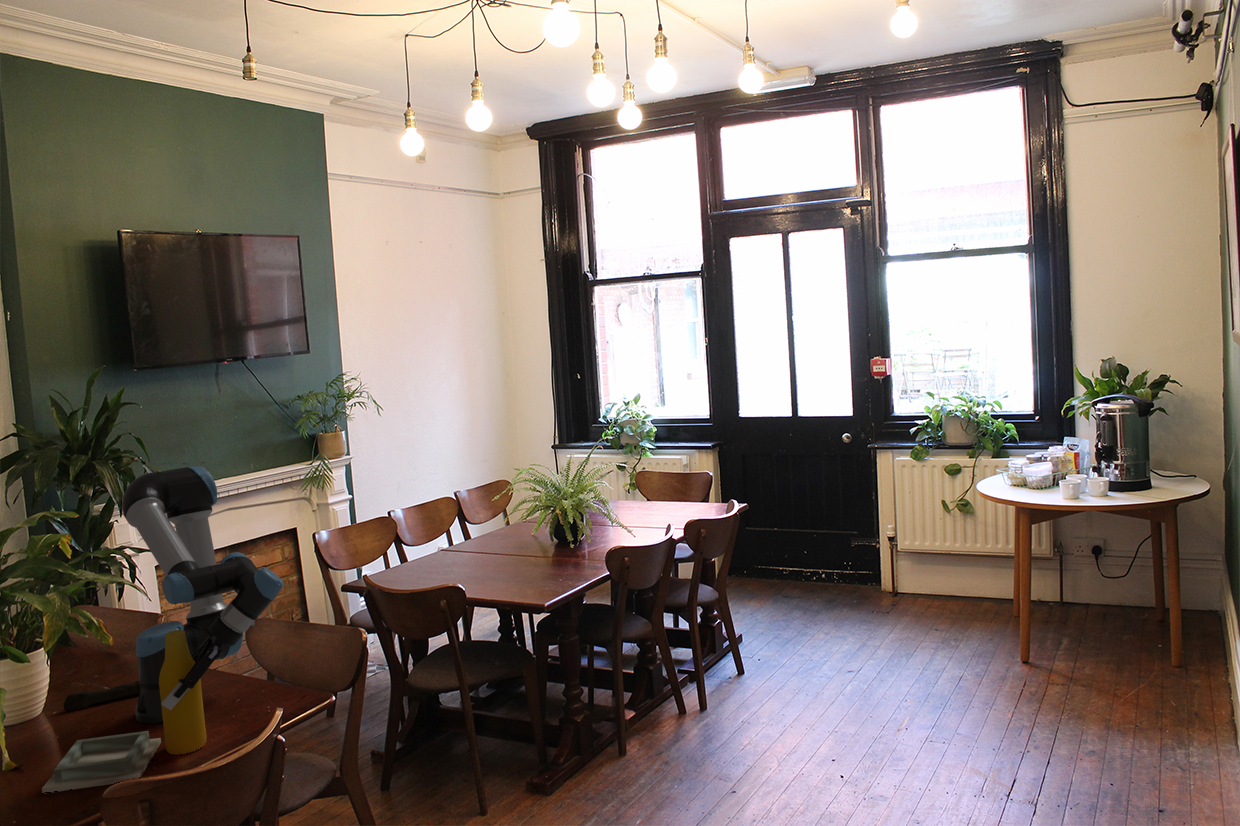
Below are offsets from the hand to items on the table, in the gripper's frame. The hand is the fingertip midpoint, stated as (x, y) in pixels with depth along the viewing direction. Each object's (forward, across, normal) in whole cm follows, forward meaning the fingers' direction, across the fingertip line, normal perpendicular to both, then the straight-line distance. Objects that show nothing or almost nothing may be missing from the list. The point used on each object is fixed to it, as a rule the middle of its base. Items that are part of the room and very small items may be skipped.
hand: (167, 699), depth 230 cm
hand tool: (+23, +43, +4) cm, 49 cm away
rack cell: (+19, -2, +1) cm, 19 cm away
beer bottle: (+7, 0, -12) cm, 13 cm away
